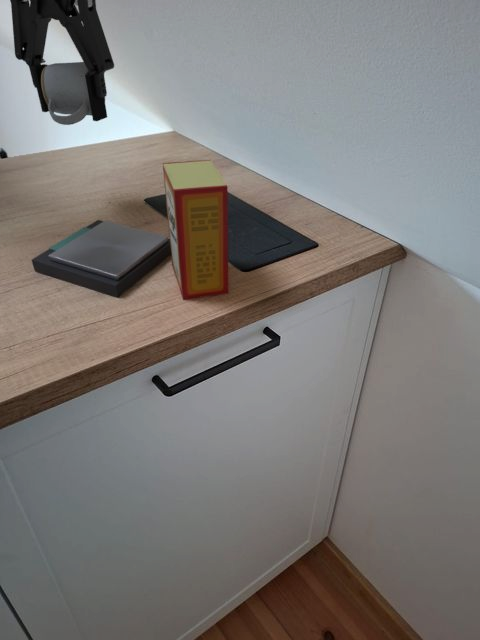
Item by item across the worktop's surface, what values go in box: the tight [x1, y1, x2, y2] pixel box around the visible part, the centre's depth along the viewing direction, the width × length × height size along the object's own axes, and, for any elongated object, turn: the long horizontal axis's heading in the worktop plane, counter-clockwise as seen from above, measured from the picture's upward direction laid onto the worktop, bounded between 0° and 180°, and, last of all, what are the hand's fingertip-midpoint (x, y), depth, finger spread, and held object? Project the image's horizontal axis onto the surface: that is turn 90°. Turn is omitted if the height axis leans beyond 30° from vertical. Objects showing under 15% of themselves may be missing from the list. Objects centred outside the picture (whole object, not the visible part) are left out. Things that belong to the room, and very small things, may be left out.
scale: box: [31, 219, 171, 298], centre depth 75 cm, size 15×15×2 cm
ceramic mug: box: [41, 61, 106, 126], centre depth 78 cm, size 11×8×8 cm
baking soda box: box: [162, 159, 229, 300], centre depth 67 cm, size 10×6×16 cm
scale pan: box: [48, 220, 169, 280], centre depth 74 cm, size 12×13×1 cm
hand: (74, 114), depth 80 cm, fingers closed on ceramic mug, 9 cm apart
